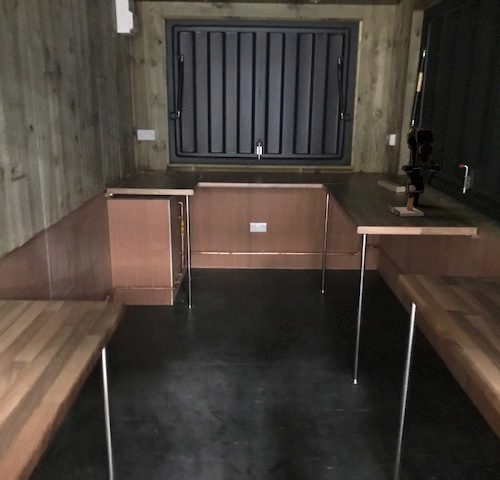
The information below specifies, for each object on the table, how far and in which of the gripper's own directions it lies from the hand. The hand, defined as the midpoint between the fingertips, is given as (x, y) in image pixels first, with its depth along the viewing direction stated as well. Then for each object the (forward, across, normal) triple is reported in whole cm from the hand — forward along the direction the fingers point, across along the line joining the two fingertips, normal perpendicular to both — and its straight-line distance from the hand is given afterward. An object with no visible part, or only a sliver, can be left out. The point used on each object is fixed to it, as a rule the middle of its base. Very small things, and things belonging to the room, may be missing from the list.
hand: (419, 184), depth 262 cm
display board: (+13, -10, -8) cm, 18 cm away
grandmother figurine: (+12, -8, -9) cm, 17 cm away
